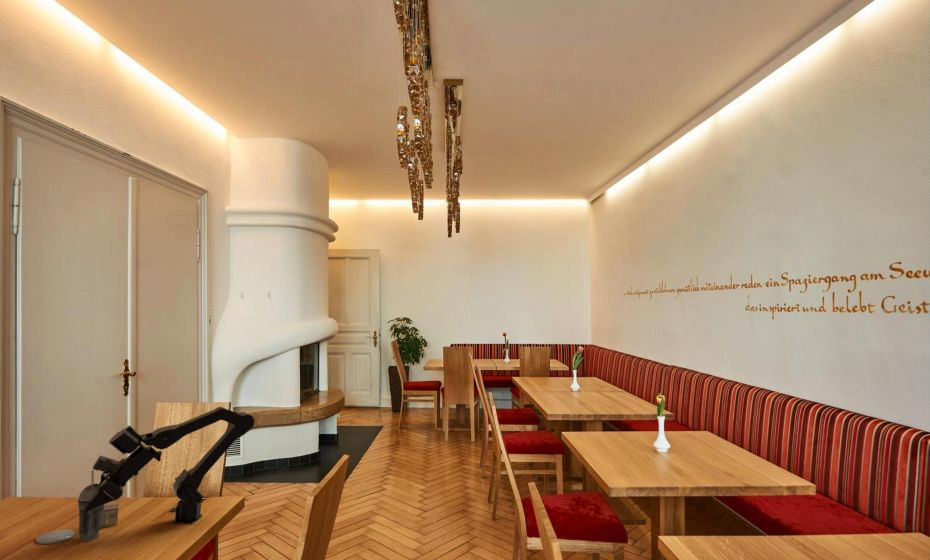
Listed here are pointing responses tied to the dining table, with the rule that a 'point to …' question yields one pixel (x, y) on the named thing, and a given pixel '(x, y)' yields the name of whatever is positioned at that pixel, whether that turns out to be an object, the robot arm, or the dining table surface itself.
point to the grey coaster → (55, 536)
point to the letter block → (110, 514)
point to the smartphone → (177, 505)
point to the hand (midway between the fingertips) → (86, 505)
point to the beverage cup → (89, 513)
